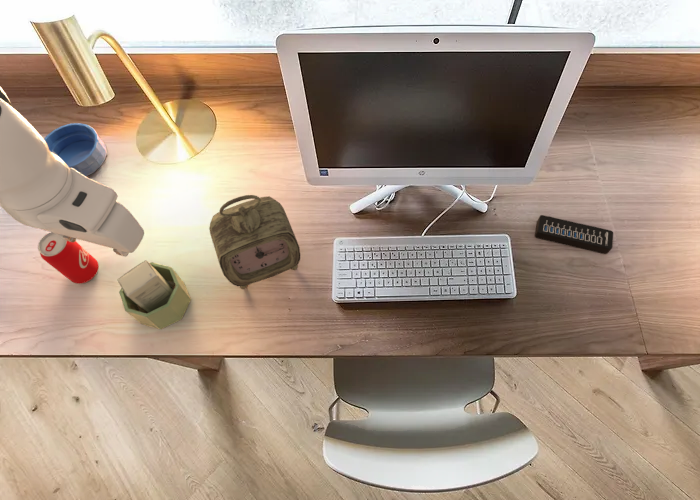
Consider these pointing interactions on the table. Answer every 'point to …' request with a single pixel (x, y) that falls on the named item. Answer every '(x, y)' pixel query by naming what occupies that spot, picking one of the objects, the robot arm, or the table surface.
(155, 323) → the green octagonal planter
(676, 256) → the table surface
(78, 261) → the beverage can
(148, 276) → the cosmetic box
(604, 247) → the multiport hub
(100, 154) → the bowl
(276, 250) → the tabletop clock
